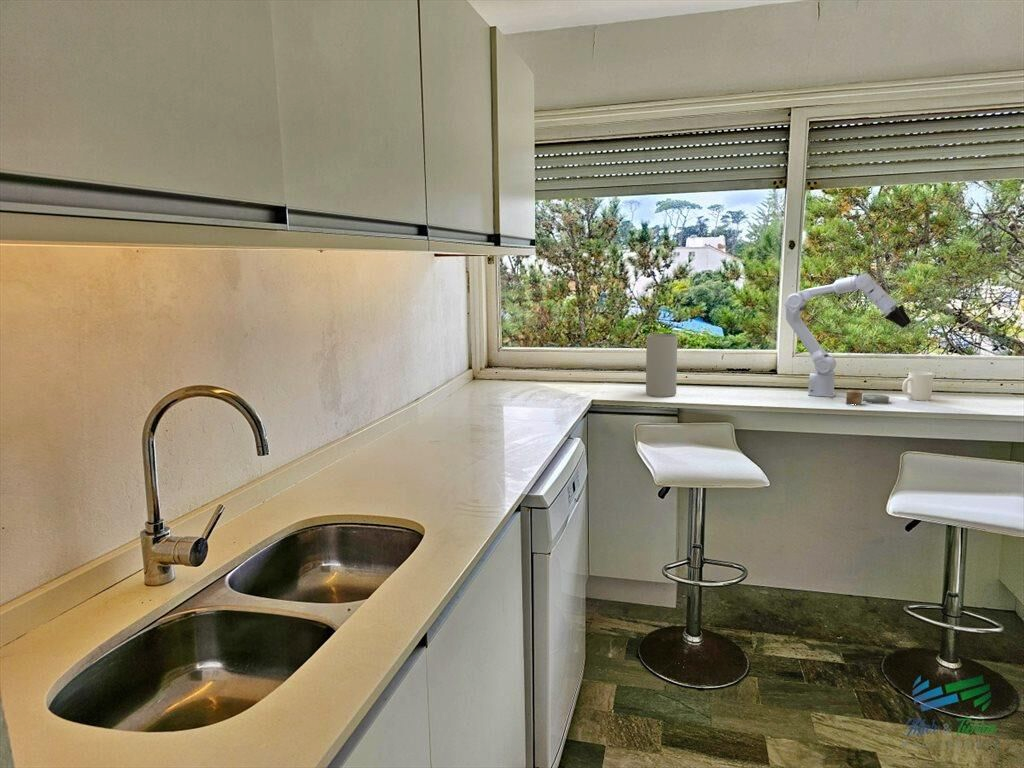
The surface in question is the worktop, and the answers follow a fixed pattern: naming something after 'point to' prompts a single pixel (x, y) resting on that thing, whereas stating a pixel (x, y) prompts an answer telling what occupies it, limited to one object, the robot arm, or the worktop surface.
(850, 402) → the walnut cube
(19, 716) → the worktop surface
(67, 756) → the worktop surface
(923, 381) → the mug
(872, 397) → the slate pedestal
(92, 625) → the worktop surface
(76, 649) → the worktop surface
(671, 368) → the cylinder vase
